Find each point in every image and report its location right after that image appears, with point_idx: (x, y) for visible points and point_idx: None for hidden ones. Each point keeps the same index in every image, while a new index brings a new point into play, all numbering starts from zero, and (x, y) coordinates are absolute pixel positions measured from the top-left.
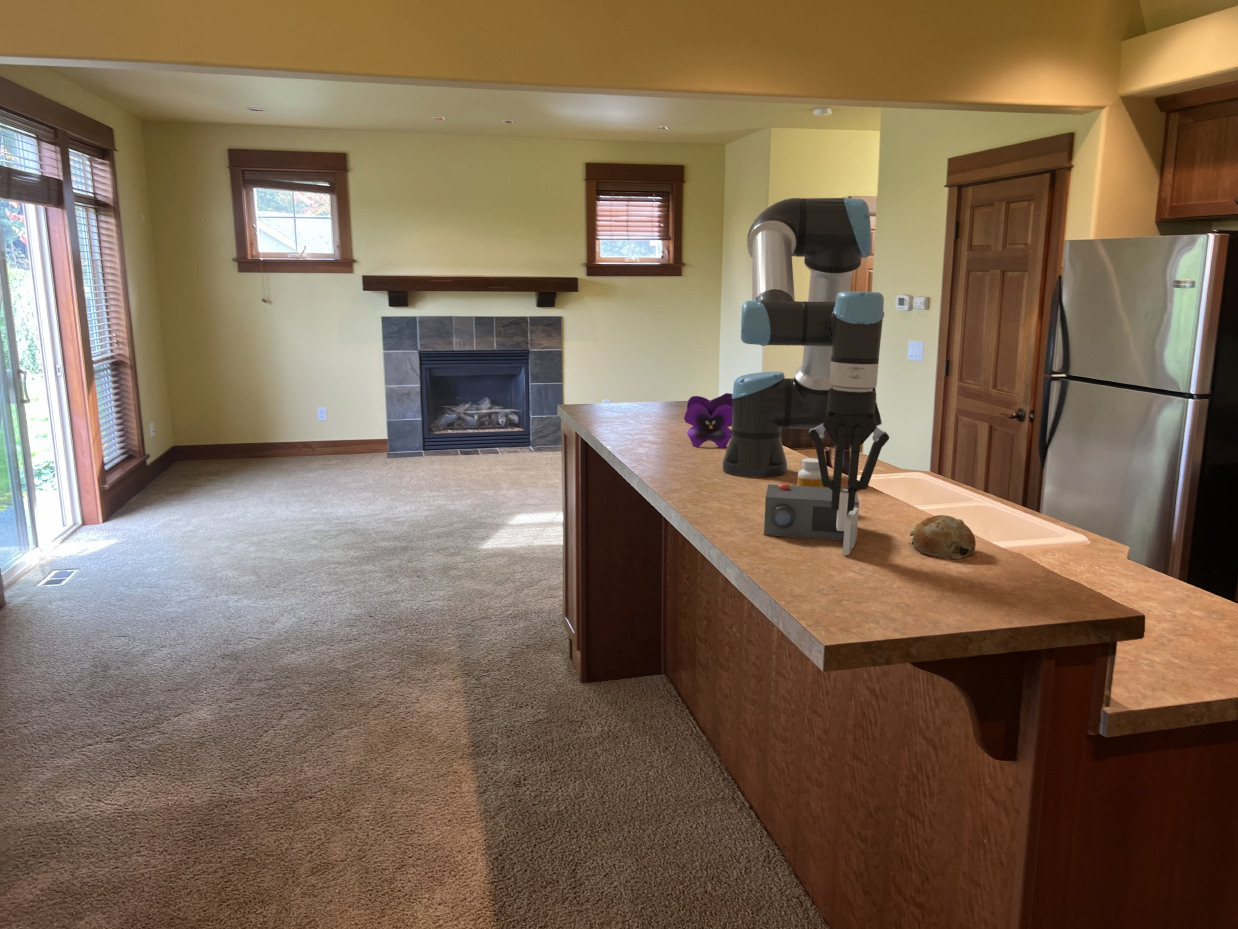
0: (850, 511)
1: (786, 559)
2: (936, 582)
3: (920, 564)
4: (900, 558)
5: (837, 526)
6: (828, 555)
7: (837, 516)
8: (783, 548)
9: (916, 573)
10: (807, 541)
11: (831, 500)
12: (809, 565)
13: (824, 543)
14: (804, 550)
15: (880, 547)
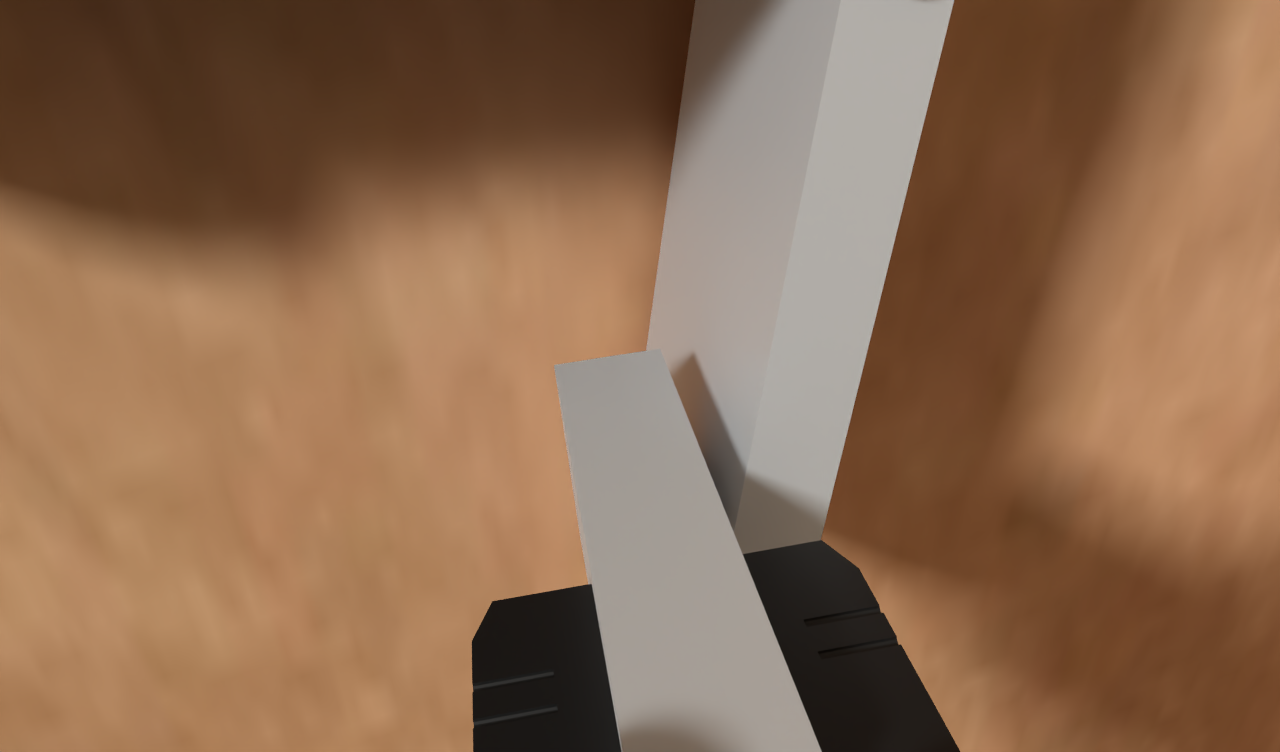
0: (787, 320)
1: (158, 680)
2: (1229, 729)
3: (1257, 421)
4: (1139, 320)
5: (586, 572)
6: (498, 458)
7: (582, 537)
8: (6, 401)
9: (1156, 623)
10: (177, 35)
11: (474, 707)
12: (381, 738)
13: (398, 54)
14: (240, 391)
15: (1028, 4)
